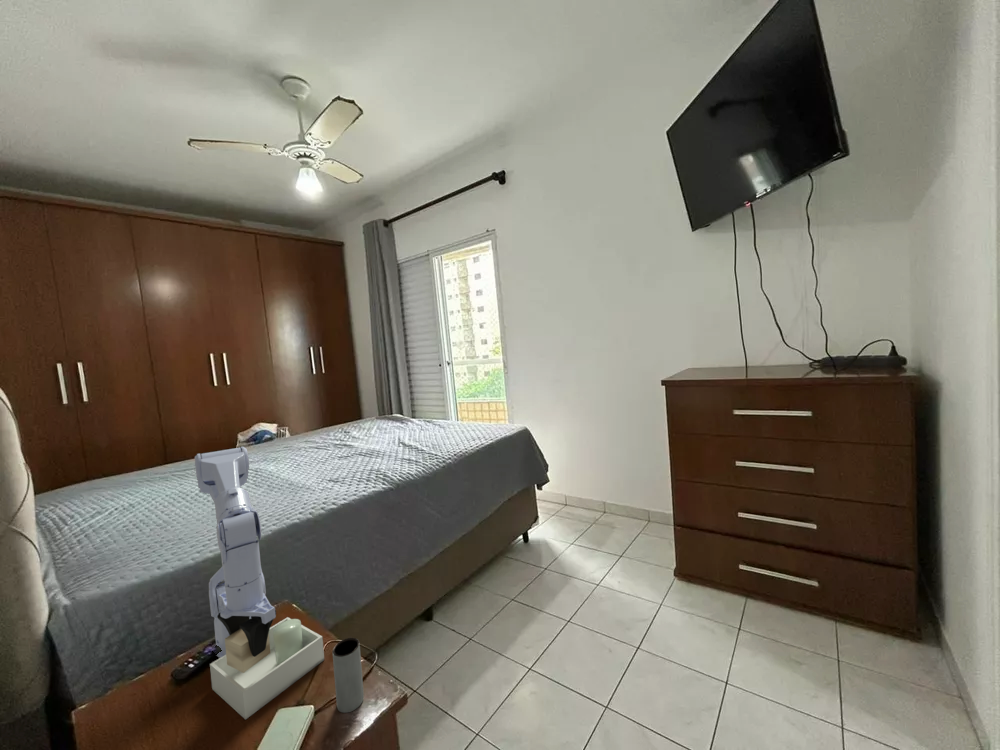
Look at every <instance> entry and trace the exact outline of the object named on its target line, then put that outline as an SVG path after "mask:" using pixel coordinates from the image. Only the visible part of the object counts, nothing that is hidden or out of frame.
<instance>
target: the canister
mask: <svg viewBox="0 0 1000 750" xmlns="http://www.w3.org/2000/svg"><path fill="white" fill-rule="evenodd" d="M290 619H291V620H287V621H284V622H282V623H281V624H279V625H278V626H276V627H275V629H274V630H273V636H274V647H275V657H276V667H277V666H278V665H280V664H281V663H282V662H284V661H285V660H287V659H288V658H290V657H291V656H293V655H294V654H295V653H297V652H298V651H300V650H301V649H303V641H302V630H301V625H302V622H301V619H299V618H290Z"/></svg>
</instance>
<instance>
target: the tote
mask: <svg viewBox="0 0 1000 750" xmlns="http://www.w3.org/2000/svg"><path fill="white" fill-rule="evenodd" d="M291 619H292V618H290V617H288V616H287V617H286V618H284V619H282V620H280V621H279V622H277V623H275V624H274V625H271V626H270V629H269V642H270V654H269V655H267V656H266V657H264V658H263V659H262V660H260V661H259V662H258V663H256V664H255V665H254V666H252V667H251V668H250V669H248V670H247V671H245V672H244V673H243V672H241V671H239V670H237V669H235V668H233V667H231V666H229V665H227V658H226V655H224V656H223V657H221V658H219V657H218V659H216V660H214V661H212V662H211V663H209V667H210V682H211V688H212V691H214V692H215V693H216V694H217V695H218V696H219V697H220V698H221V699H222V700H223V701H225V703H227V704H228V706H230V707H231V708H232V709H233V710H235V712H237V714H238V715H240V716H241V717H242V718H243V719H244V720H247V719H249V717H251V716H253V715H254V714H255V713H256V712H257V711H259V710H260V709H262V708H264V707H265V705H267V704H268V703H270V702H271V701H273V699H275V698H277V697H278V696H279V695H280V694H282V692H284V691H285V690H287V689H288V688H289V687H291V686H292V685H294V684H295V683H296V682H297V681H298V680H300V679H301V678H302V677H304V676H305V675H307V674H308V673H309V672H311V671H312V670H313V669H315V668H316V667H317V666H318V665H319V664H321V663H322V662H323V661H325V651H324V639H323V635H320V634H319V633H317V632H316V631H314V630H311V629H310V628H308V627H306V626H305V625H303V624H301V630H302V641H303V649H301V650H300V651H298V652H297V653H295V654H294V655H293V656H291V657H290V658H288V659H287V660H285V661H284V662H282V663H281V664H280V665H278V666H277V667H276V657H275V647H274V636H273V630H274V629H275V627H276V626H278V625H279V624H281V623H282V622H284V621H287V620H291Z"/></svg>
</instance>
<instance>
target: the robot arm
mask: <svg viewBox="0 0 1000 750" xmlns="http://www.w3.org/2000/svg"><path fill="white" fill-rule="evenodd" d="M248 452H249V451H248V449H247V447H245V446H240V447H236V448H229V449H222V450H217V451H210V452H203V453H196V455H195V456H194V467H195V475H196V480H197V487H198V489H199V491H200V493H203V494H206V495H207V494H208V495H210V498H211V499H212V500H213V504H214V510H215V517H216V519H215V520H216V537H217V538H216V539H217V544H218V549H219V551H220V558H221V565H222V566H221V567H220V568H219V569H218V570H217V571H216V572H215V573H214V574H213V576H211V578H210V579H209V582H208V598H209V607H210V615H211V617H212V618H214V620H213V626H214V637H215V646H216V645H217V646H219V647H220V648H221V650H222V651H221V652H219V653H218V654H217V655H216V657H218V659H219V658H221V657H223V656H224V655H226V647H225V638H227V637H228V636H230V635H231V634H233V633H234V632H236V631H238V630H239V629H242V630H243V632H244V633H245V635H246V637H247V639H248V643H249V647H250V651H251V654H252V656H254V657H256V656H257V655H258V654H260V653H261V652H263V651H264V650H265V648H266V643H267V638H268V633H269V629H270V628H271V627H272V624H273V622H274V619H276V617H277V610H276V607H275V606H273V605H272V604H271V603H270V601H269V599H268V598H267V596H266V595H267V591H266V581H265V576H264V573H263V570H262V565H261V564H262V563H261V554H260V542H259V541H261V540H262V524H261V518H260V516H259V513H258V511H257V509H256V507H253V506H252V502H251V497H250V494H249V492H248V490H246V489H245V488H243V487H242V486H243V485H245V484H246V483H247V482H248V478H249V470H250V460H249V459H250V457H249V453H248Z"/></svg>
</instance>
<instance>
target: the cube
mask: <svg viewBox="0 0 1000 750" xmlns="http://www.w3.org/2000/svg"><path fill="white" fill-rule="evenodd" d="M225 647H226V658H227V665H229V666H231V667H233V668H235V669H237V670H239V671H241V672H243V673H244V672H245V671H247V670H248V669H250V668H251V667H252V666H254V665H255V664H256V663H258V662H259V661H260V660H262V659H263V658H264V657H266V656H267V655H269V654H270V642H269V633H268V638H267V643H266V648H265V650H264V651H263V652H261V653H260V654H258V655H257V656H256V657H254V656H252V654H251V651H250V647H249V643H248V639H247V637H246V635H245V633H244V632H243V630H242V629H239V630H238V631H236V632H234V633H233V634H231V635H230V636H228V637H227V638H225Z"/></svg>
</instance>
